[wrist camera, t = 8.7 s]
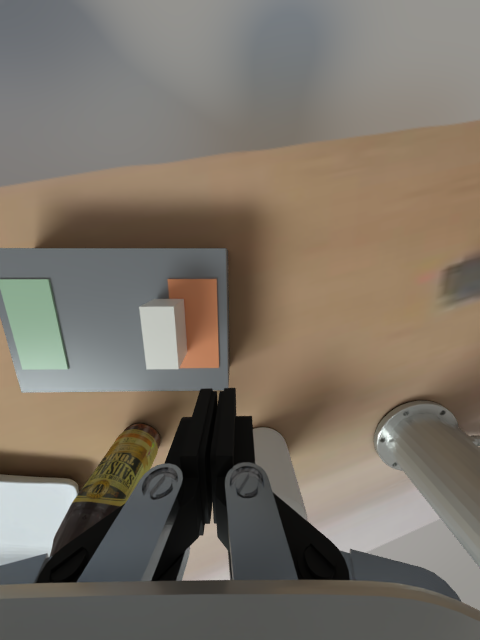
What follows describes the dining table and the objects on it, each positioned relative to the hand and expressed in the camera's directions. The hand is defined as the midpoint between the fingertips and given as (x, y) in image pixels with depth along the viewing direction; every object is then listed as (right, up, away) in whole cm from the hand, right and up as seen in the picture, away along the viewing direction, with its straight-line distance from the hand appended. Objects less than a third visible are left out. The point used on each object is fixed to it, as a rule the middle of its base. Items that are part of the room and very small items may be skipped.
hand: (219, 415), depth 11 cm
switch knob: (-6, +4, +14) cm, 15 cm away
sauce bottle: (-15, -14, +25) cm, 32 cm away
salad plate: (-36, -28, +29) cm, 54 cm away
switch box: (-13, +5, +19) cm, 24 cm away
